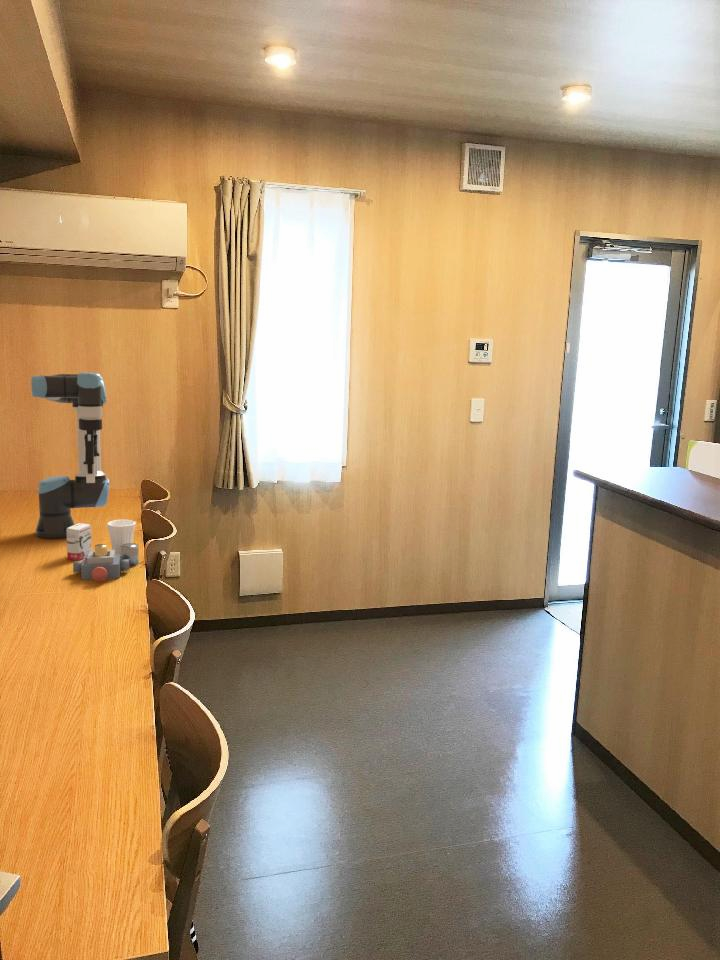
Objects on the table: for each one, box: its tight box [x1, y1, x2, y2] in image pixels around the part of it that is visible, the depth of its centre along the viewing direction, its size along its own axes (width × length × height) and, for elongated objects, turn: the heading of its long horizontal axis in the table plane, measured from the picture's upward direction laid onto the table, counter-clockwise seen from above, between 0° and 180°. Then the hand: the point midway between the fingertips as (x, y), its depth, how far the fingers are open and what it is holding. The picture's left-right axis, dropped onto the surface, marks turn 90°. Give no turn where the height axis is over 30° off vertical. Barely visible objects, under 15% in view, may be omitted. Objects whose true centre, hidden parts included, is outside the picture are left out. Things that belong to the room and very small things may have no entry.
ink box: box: [66, 522, 93, 561], centre depth 260 cm, size 9×5×12 cm, turn 168°
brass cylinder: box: [94, 543, 108, 557], centre depth 244 cm, size 4×4×9 cm
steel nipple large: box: [121, 542, 140, 568], centre depth 255 cm, size 6×6×7 cm
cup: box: [106, 519, 136, 554], centre depth 262 cm, size 10×10×13 cm
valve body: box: [72, 549, 130, 582], centre depth 242 cm, size 16×18×7 cm
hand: (92, 478), depth 247 cm, fingers open, 13 cm apart
